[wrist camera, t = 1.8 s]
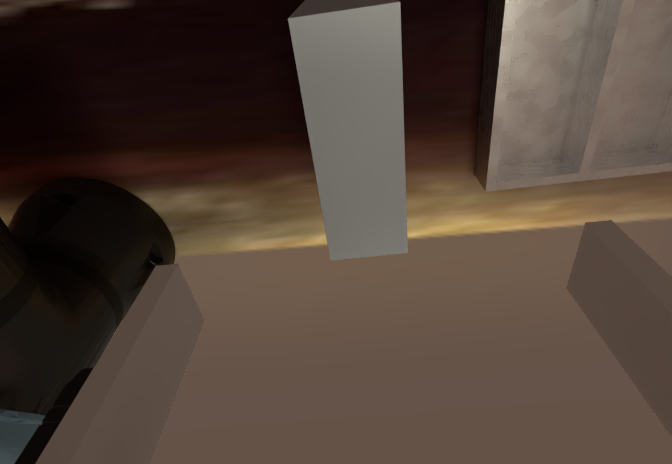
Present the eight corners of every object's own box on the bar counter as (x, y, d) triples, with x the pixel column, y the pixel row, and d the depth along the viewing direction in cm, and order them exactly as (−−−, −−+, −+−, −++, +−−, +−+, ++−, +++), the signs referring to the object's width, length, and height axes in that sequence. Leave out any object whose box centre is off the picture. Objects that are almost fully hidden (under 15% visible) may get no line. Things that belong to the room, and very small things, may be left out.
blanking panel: (332, 167, 37) (330, 260, 25) (307, -3, 29) (287, 18, 17) (385, 161, 36) (407, 252, 25) (374, -13, 28) (400, 1, 17)
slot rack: (473, 174, 37) (486, 193, 34) (494, -72, 26) (514, -76, 23) (747, 143, 35) (786, 159, 32) (887, -135, 24) (965, -149, 21)
